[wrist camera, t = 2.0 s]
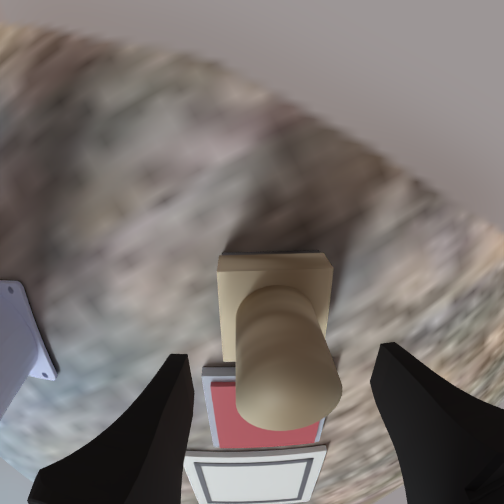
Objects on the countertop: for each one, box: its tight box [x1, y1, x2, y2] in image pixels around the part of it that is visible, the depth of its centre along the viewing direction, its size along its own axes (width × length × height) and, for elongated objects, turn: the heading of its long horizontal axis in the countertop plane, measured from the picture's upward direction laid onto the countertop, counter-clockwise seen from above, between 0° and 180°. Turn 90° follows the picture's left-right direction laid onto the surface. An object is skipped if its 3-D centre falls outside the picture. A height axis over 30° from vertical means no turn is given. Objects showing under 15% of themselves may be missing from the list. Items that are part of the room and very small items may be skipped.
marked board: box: [183, 445, 327, 504], centre depth 24 cm, size 12×12×1 cm
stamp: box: [217, 250, 342, 431], centre depth 13 cm, size 5×5×7 cm
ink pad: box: [202, 367, 325, 448], centre depth 19 cm, size 8×8×1 cm
